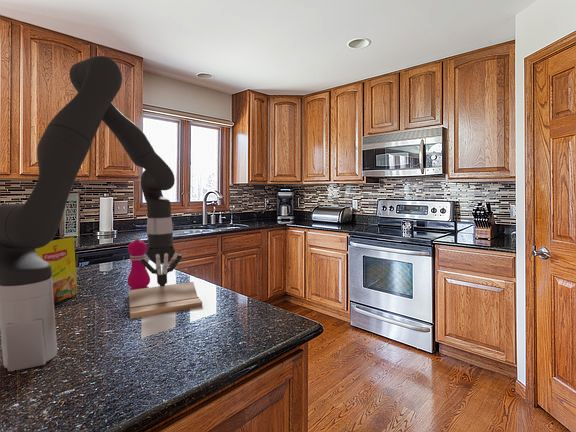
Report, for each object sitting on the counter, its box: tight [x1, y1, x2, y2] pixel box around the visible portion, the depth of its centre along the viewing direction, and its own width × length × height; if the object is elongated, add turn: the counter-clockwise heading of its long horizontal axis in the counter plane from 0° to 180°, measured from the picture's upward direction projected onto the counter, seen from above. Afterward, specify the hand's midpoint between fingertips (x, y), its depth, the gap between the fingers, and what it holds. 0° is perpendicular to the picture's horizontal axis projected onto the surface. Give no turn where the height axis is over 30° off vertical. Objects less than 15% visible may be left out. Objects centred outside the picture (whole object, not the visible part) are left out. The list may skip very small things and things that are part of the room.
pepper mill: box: [126, 235, 151, 290], centre depth 118 cm, size 7×7×20 cm
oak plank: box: [129, 296, 203, 320], centre depth 102 cm, size 5×20×2 cm, turn 118°
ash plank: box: [128, 281, 199, 307], centre depth 107 cm, size 7×20×2 cm
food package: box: [36, 236, 78, 304], centre depth 110 cm, size 15×1×20 cm, turn 168°
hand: (162, 285), depth 109 cm, fingers closed
